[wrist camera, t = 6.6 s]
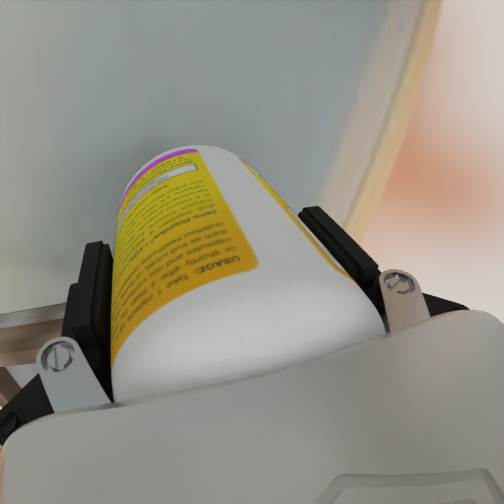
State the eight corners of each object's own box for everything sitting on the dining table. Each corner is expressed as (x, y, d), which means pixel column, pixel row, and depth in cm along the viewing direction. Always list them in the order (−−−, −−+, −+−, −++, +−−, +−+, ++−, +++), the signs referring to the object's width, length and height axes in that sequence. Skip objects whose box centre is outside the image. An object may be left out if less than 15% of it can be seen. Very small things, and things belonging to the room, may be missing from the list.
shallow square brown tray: (120, 293, 20) (121, 331, 17) (162, 401, 27) (168, 433, 24) (-33, 320, 16) (-46, 354, 13) (40, 416, 23) (38, 446, 20)
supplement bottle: (108, 262, 14) (125, 566, 4) (139, 123, 11) (161, 556, 1) (235, 280, 17) (345, 521, 7) (285, 164, 14) (516, 401, 4)
